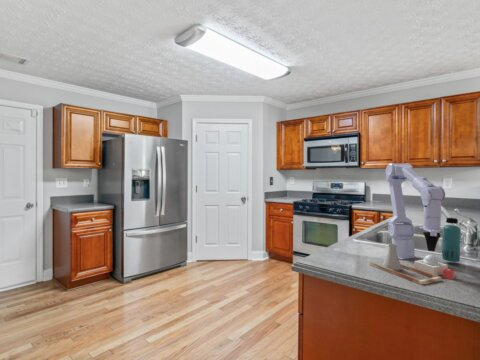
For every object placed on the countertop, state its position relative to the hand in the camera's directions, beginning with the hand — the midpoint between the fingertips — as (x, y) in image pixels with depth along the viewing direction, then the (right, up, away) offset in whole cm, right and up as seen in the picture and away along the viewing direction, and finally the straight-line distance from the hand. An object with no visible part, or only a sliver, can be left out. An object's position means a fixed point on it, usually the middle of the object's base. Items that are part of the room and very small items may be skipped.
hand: (431, 250), depth 114 cm
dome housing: (0, -8, 0) cm, 8 cm away
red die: (+3, -9, -6) cm, 11 cm away
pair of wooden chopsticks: (-12, -8, 0) cm, 14 cm away
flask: (-13, -9, +4) cm, 16 cm away
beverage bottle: (+16, -8, +11) cm, 21 cm away
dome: (0, -6, 0) cm, 6 cm away
